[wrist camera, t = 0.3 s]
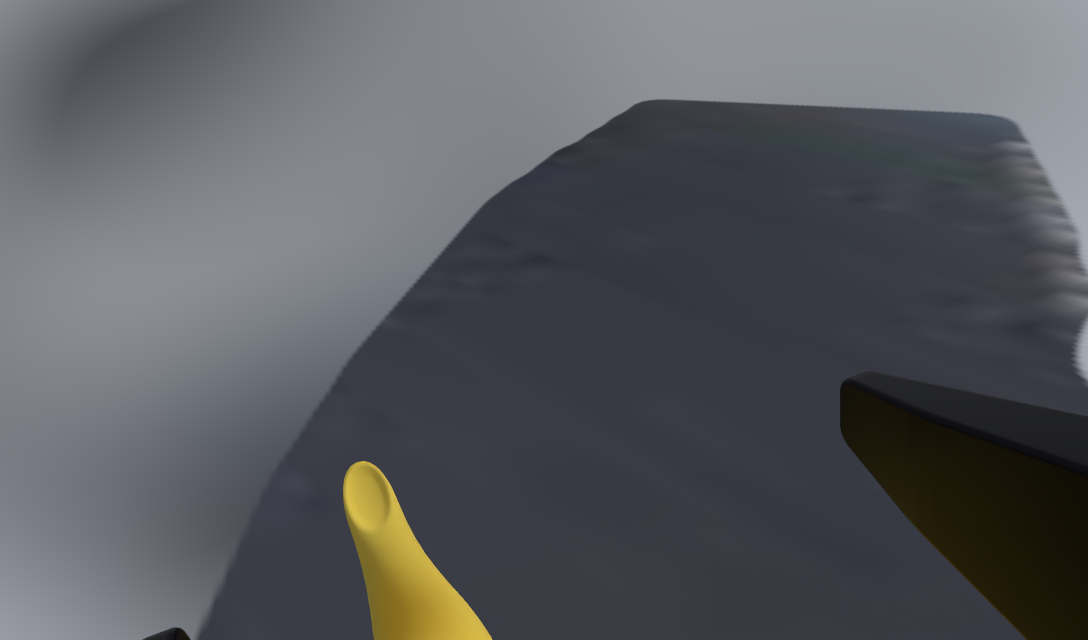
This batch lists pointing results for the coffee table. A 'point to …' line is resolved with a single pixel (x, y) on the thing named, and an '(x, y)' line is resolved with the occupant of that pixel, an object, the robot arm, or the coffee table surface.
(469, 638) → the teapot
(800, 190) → the coffee table surface
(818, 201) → the coffee table surface
